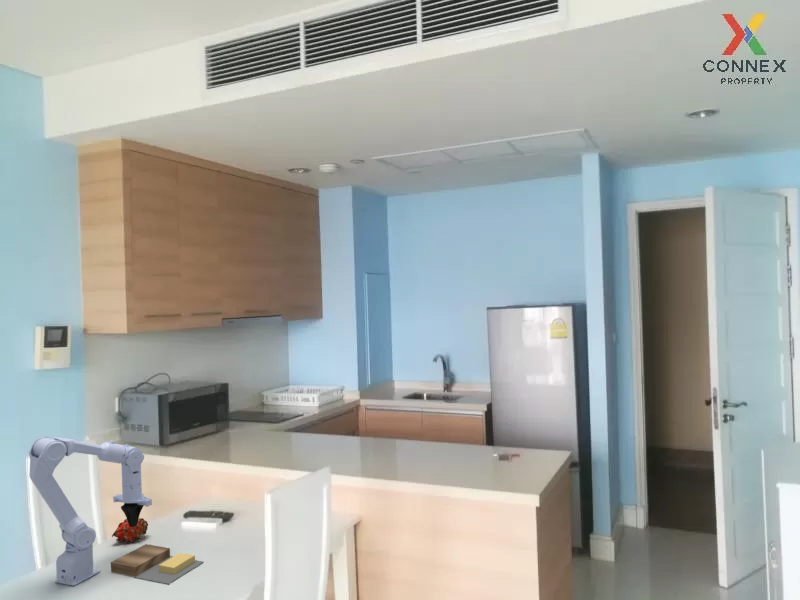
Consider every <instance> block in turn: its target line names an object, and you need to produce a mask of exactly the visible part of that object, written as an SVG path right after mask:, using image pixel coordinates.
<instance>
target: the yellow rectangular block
mask: <svg viewBox="0 0 800 600" xmlns="http://www.w3.org/2000/svg"><path fill="white" fill-rule="evenodd" d="M172 556H173V557H172V558H170V559H168V560H166V561H165V562H163V563H161V564H160V565H159V572H164V573H169V574H176V573H178V572H179V571H181V570H182V569H184V568H186V567H187V566H189V565H190V564H192V563H194V562H195V560H196V556H195V555H194V554H189V553H183V552H178V553H177V554H176V555H172Z"/></svg>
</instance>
